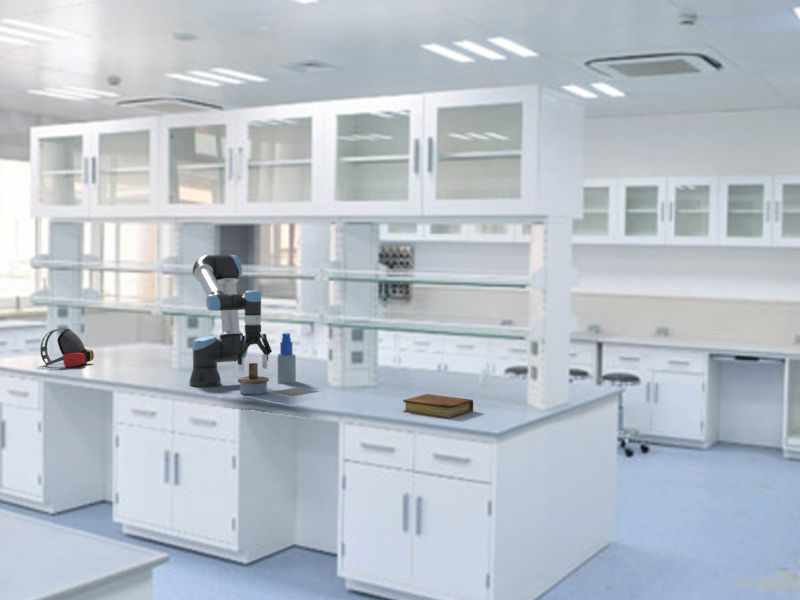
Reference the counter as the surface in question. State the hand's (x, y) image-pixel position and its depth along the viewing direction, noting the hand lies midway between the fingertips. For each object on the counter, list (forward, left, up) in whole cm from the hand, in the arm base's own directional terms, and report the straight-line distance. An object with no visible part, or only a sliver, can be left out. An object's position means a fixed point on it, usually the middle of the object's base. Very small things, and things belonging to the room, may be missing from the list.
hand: (253, 370), depth 421 cm
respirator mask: (-146, -17, -12) cm, 147 cm away
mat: (+12, +15, -11) cm, 22 cm away
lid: (0, 0, -5) cm, 5 cm away
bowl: (0, 0, -11) cm, 11 cm away
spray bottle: (-12, +30, -11) cm, 34 cm away
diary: (+88, +29, -12) cm, 93 cm away
